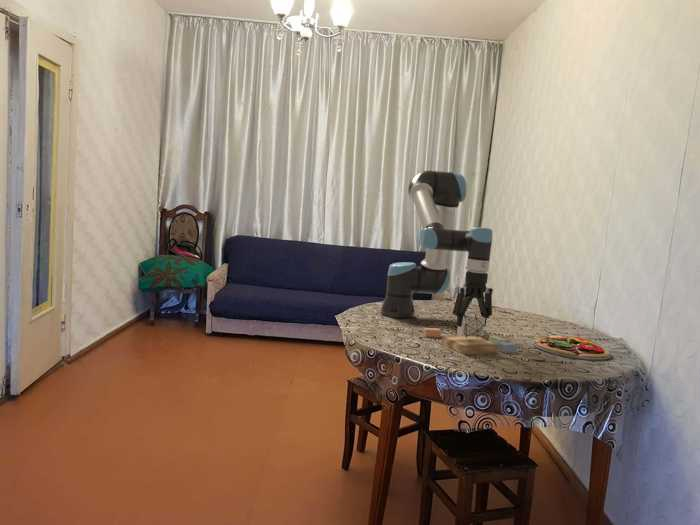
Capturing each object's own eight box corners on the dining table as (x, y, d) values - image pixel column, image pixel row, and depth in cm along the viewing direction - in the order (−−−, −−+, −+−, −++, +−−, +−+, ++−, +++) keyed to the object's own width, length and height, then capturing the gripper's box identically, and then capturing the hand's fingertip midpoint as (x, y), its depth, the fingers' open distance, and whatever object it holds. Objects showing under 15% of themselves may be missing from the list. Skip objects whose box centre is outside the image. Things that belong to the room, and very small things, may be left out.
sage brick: (488, 343, 215) (489, 335, 214) (494, 343, 216) (495, 335, 216) (499, 348, 209) (500, 339, 209) (505, 347, 211) (506, 339, 210)
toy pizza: (621, 366, 199) (622, 353, 199) (538, 355, 204) (540, 343, 203) (600, 347, 227) (602, 336, 226) (528, 338, 231) (529, 327, 231)
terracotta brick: (425, 337, 216) (425, 329, 216) (422, 335, 219) (423, 327, 219) (440, 338, 217) (441, 330, 217) (437, 336, 220) (438, 328, 220)
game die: (473, 348, 202) (486, 330, 196) (451, 337, 203) (464, 318, 197) (477, 333, 209) (490, 315, 203) (456, 322, 210) (469, 303, 204)
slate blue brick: (503, 353, 202) (504, 344, 202) (497, 350, 205) (498, 342, 204) (516, 352, 205) (517, 344, 204) (510, 350, 207) (511, 342, 207)
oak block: (441, 343, 207) (442, 335, 207) (472, 342, 213) (473, 334, 213) (464, 354, 194) (465, 346, 194) (497, 353, 200) (498, 344, 200)
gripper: (459, 272, 193) (451, 338, 195) (507, 273, 202) (500, 337, 204) (446, 269, 200) (439, 333, 202) (494, 270, 208) (487, 332, 211)
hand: (470, 335), depth 203 cm, fingers closed on game die, 8 cm apart
